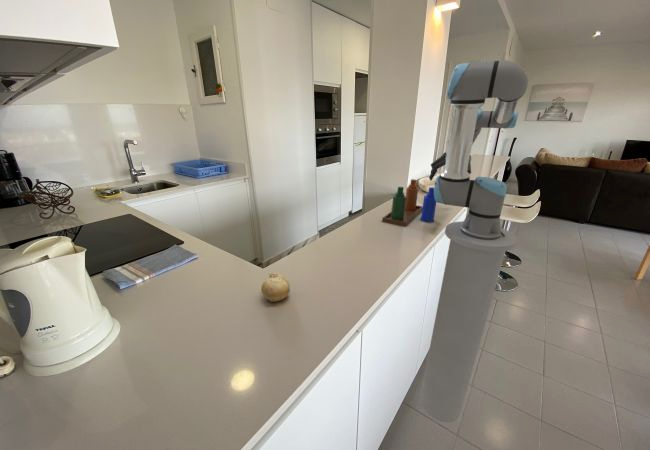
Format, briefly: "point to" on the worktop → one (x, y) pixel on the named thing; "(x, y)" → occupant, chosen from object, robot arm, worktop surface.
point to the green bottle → (398, 205)
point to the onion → (275, 288)
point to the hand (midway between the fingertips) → (442, 181)
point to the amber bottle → (411, 196)
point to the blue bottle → (429, 206)
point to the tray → (407, 217)
